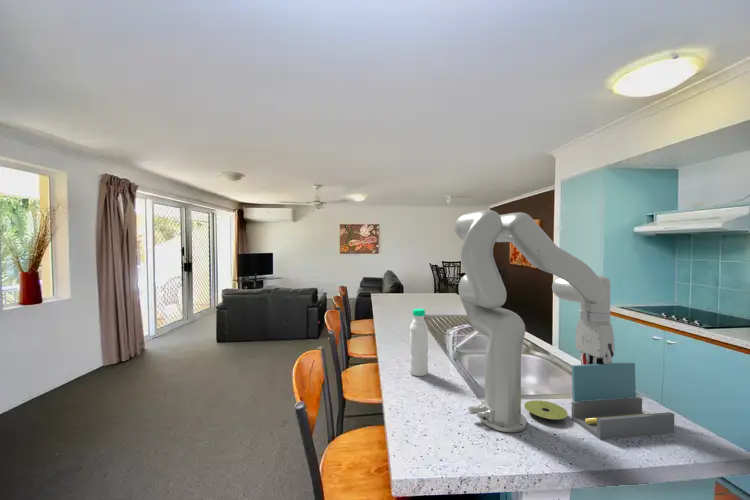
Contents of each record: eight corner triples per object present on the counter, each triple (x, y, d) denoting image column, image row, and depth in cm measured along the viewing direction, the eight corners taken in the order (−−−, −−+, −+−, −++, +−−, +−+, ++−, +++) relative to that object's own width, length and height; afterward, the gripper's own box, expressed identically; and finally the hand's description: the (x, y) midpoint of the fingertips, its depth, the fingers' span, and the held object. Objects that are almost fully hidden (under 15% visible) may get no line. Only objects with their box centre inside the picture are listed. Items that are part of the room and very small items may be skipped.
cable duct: (600, 439, 84) (600, 420, 84) (571, 419, 94) (571, 401, 94) (674, 432, 87) (674, 414, 87) (638, 413, 97) (638, 396, 97)
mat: (516, 406, 101) (516, 400, 101) (551, 405, 102) (551, 399, 102) (538, 426, 90) (538, 419, 90) (577, 424, 91) (577, 417, 91)
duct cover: (573, 366, 94) (571, 365, 95) (574, 401, 94) (572, 400, 95) (634, 362, 97) (632, 362, 98) (635, 397, 97) (633, 395, 97)
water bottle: (430, 372, 128) (431, 308, 128) (423, 378, 123) (423, 311, 122) (414, 368, 132) (414, 306, 132) (406, 374, 126) (406, 309, 126)
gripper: (565, 312, 106) (565, 369, 106) (605, 323, 91) (605, 388, 91) (586, 311, 107) (586, 367, 107) (628, 321, 92) (628, 386, 93)
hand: (594, 377), depth 99 cm, fingers closed
